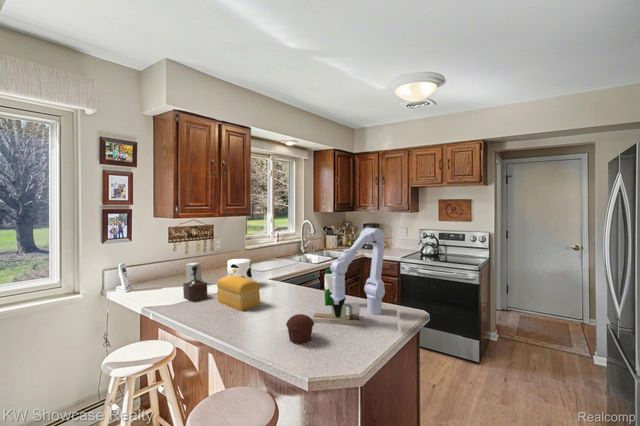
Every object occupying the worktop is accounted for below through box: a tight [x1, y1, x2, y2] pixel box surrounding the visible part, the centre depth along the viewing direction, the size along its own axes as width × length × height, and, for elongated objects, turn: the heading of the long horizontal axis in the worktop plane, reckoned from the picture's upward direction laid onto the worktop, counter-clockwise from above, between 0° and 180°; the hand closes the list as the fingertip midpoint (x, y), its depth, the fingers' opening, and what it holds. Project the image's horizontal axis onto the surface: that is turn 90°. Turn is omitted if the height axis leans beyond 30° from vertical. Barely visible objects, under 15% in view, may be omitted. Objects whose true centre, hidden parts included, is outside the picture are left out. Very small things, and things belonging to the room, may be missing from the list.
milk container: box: [226, 258, 254, 280], centre depth 217 cm, size 17×17×18 cm
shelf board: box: [309, 312, 364, 327], centre depth 152 cm, size 12×24×3 cm, turn 78°
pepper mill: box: [182, 266, 208, 302], centre depth 193 cm, size 16×11×18 cm
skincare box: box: [185, 262, 203, 283], centre depth 219 cm, size 8×7×16 cm
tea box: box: [331, 304, 347, 319], centre depth 150 cm, size 5×6×6 cm
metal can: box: [348, 302, 361, 320], centre depth 152 cm, size 5×5×7 cm
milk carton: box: [324, 268, 334, 307], centre depth 176 cm, size 9×9×20 cm
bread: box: [216, 275, 261, 312], centre depth 180 cm, size 24×13×15 cm, turn 47°
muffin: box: [285, 313, 315, 345], centre depth 132 cm, size 12×11×10 cm
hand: (338, 315), depth 150 cm, fingers closed on tea box, 4 cm apart
